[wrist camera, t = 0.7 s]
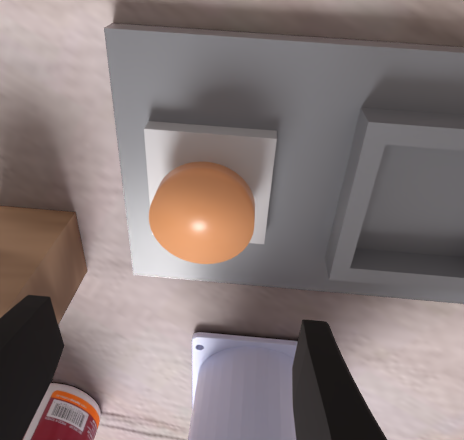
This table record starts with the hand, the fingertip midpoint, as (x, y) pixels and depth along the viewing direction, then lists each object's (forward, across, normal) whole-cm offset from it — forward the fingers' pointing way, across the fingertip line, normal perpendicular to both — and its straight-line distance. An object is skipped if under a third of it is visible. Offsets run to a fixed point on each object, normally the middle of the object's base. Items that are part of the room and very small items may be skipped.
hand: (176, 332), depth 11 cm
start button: (+6, 0, 0) cm, 6 cm away
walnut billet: (+9, +9, +5) cm, 14 cm away
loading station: (+9, -5, 0) cm, 11 cm away
